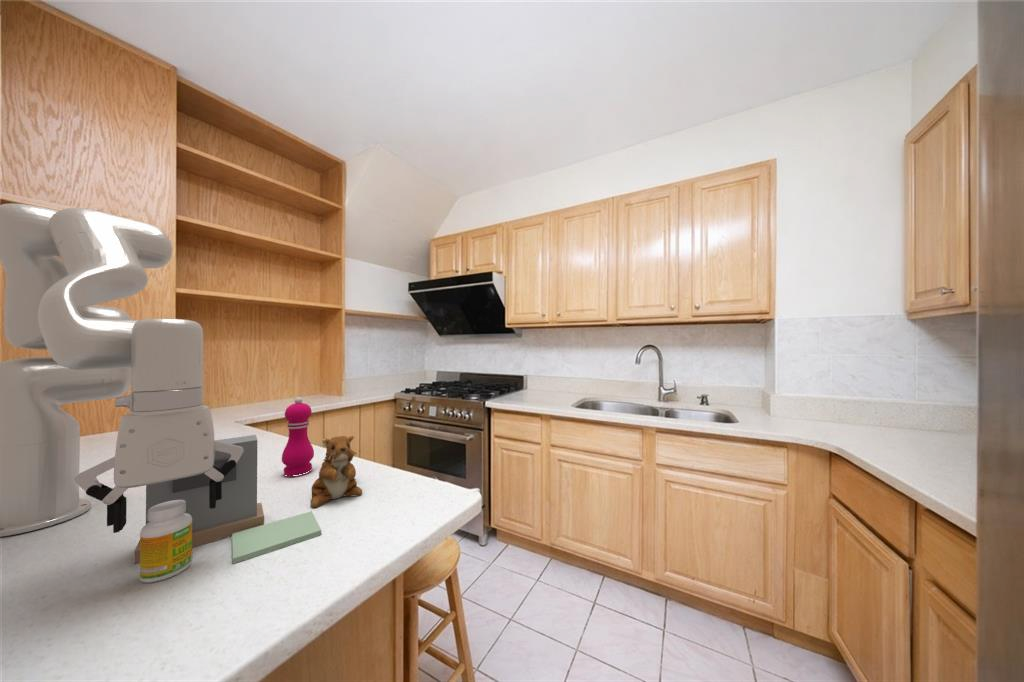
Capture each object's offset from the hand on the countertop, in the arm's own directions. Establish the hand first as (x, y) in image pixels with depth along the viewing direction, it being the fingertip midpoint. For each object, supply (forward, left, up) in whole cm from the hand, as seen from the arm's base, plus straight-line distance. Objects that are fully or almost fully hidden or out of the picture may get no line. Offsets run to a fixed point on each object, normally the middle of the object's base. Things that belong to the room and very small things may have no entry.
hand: (169, 516), depth 49 cm
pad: (+13, +1, -8) cm, 16 cm away
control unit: (+4, +10, -8) cm, 13 cm away
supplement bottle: (0, +1, -8) cm, 8 cm away
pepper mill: (+21, +33, -8) cm, 40 cm away
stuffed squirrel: (+25, +14, -8) cm, 30 cm away
